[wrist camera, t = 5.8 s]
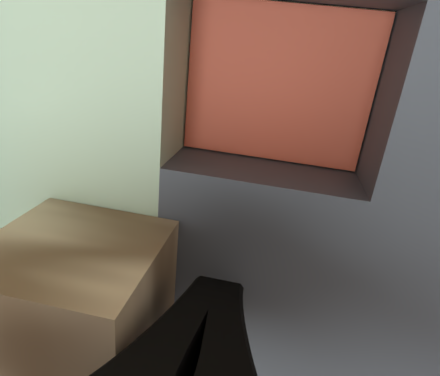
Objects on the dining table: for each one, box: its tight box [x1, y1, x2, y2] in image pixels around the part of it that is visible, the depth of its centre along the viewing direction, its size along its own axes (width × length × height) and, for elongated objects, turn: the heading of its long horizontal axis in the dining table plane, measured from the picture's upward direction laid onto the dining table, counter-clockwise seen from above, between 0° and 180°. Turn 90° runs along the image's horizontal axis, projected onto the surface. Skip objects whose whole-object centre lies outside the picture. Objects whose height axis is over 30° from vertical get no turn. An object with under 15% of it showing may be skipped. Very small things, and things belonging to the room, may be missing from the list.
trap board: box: [0, 0, 440, 376], centre depth 11 cm, size 18×17×4 cm
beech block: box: [0, 198, 179, 376], centre depth 9 cm, size 4×4×4 cm
